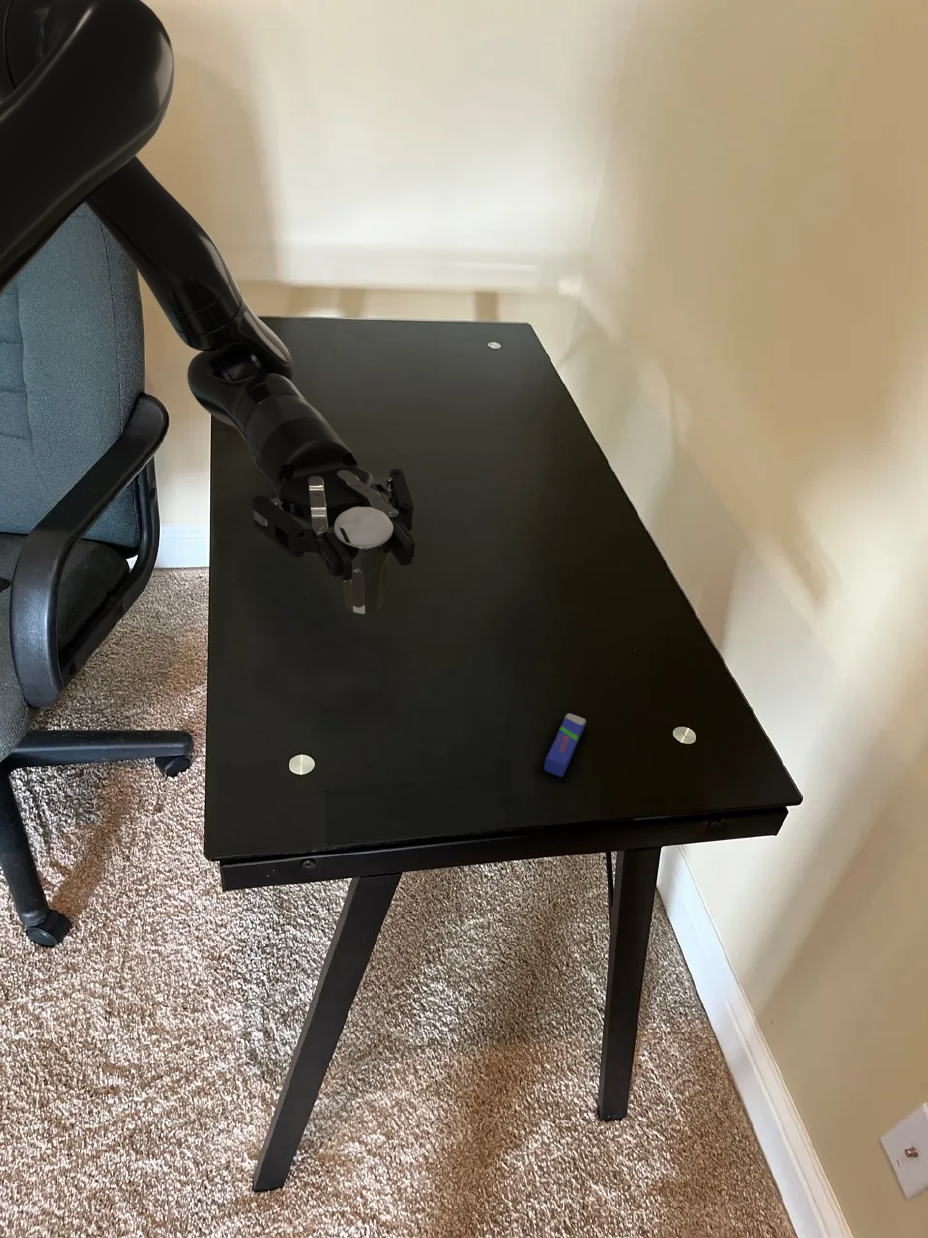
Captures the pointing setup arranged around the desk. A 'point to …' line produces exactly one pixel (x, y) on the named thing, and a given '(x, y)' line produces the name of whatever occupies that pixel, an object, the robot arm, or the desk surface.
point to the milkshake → (365, 556)
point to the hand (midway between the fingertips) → (378, 563)
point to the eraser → (564, 744)
